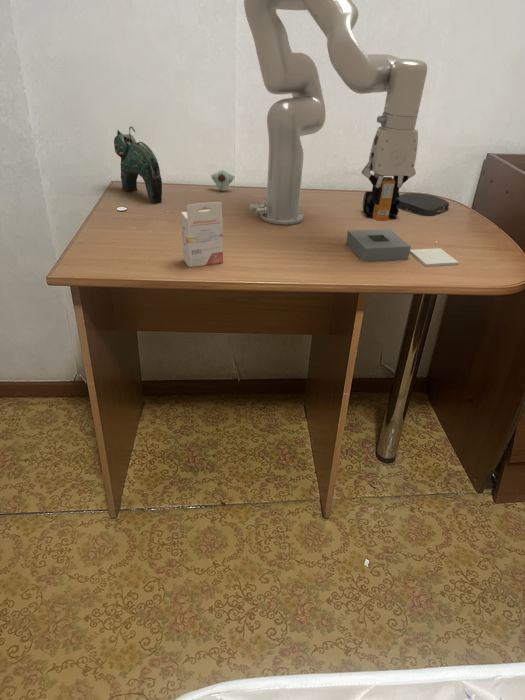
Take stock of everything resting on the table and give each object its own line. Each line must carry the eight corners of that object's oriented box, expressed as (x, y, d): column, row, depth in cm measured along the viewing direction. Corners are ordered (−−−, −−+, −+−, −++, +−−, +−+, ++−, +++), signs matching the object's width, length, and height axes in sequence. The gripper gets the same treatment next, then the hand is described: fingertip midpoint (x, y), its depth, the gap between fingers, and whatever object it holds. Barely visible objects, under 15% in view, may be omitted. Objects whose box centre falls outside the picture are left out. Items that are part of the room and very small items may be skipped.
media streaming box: (412, 198, 175) (414, 189, 174) (452, 209, 167) (454, 200, 165) (388, 206, 167) (390, 197, 165) (428, 219, 158) (430, 209, 157)
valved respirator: (235, 190, 172) (235, 169, 168) (233, 194, 168) (234, 172, 165) (211, 188, 172) (211, 167, 168) (209, 192, 169) (209, 171, 165)
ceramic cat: (116, 189, 166) (109, 122, 155) (134, 186, 170) (128, 120, 159) (150, 205, 155) (145, 134, 144) (168, 202, 158) (165, 132, 147)
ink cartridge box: (216, 255, 126) (216, 195, 118) (223, 263, 123) (223, 201, 114) (182, 259, 123) (179, 198, 115) (188, 267, 119) (186, 205, 111)
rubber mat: (425, 266, 127) (426, 264, 126) (408, 252, 134) (409, 249, 134) (458, 264, 129) (458, 262, 128) (439, 250, 136) (440, 248, 136)
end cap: (393, 212, 161) (397, 190, 158) (398, 219, 155) (402, 197, 152) (361, 210, 161) (364, 188, 157) (365, 218, 155) (368, 195, 151)
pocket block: (363, 261, 127) (365, 248, 125) (345, 243, 137) (347, 230, 135) (407, 259, 130) (410, 246, 128) (387, 241, 140) (390, 229, 138)
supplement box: (370, 216, 130) (379, 175, 125) (383, 216, 131) (392, 176, 125) (374, 221, 127) (383, 179, 122) (388, 221, 128) (397, 180, 122)
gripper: (371, 125, 112) (357, 208, 122) (440, 126, 115) (420, 207, 126) (358, 118, 118) (346, 197, 128) (424, 119, 121) (406, 197, 132)
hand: (383, 201), depth 127 cm, fingers closed on supplement box, 3 cm apart
